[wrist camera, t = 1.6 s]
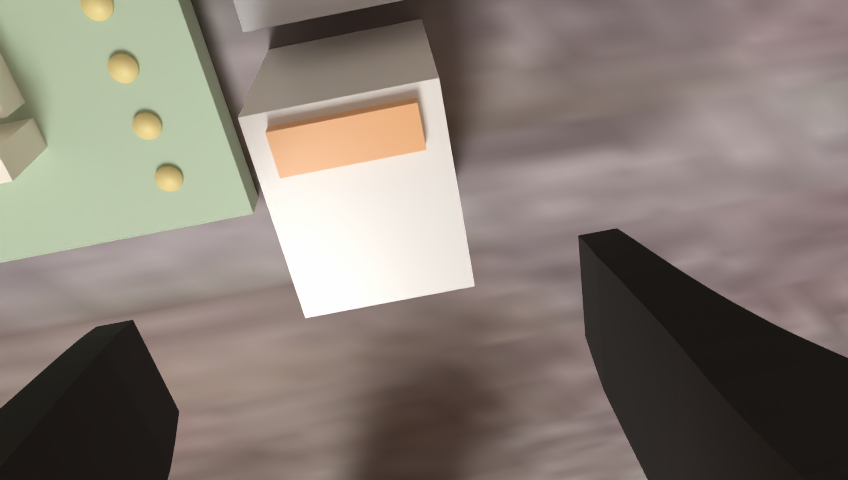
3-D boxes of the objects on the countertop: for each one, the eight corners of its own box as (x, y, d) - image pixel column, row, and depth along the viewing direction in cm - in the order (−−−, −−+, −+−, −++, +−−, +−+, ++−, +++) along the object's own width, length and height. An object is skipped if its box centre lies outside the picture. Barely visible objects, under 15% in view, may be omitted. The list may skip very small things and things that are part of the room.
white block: (451, 189, 20) (476, 293, 16) (318, 215, 20) (304, 326, 16) (421, 18, 18) (440, 82, 13) (269, 48, 18) (235, 123, 13)
